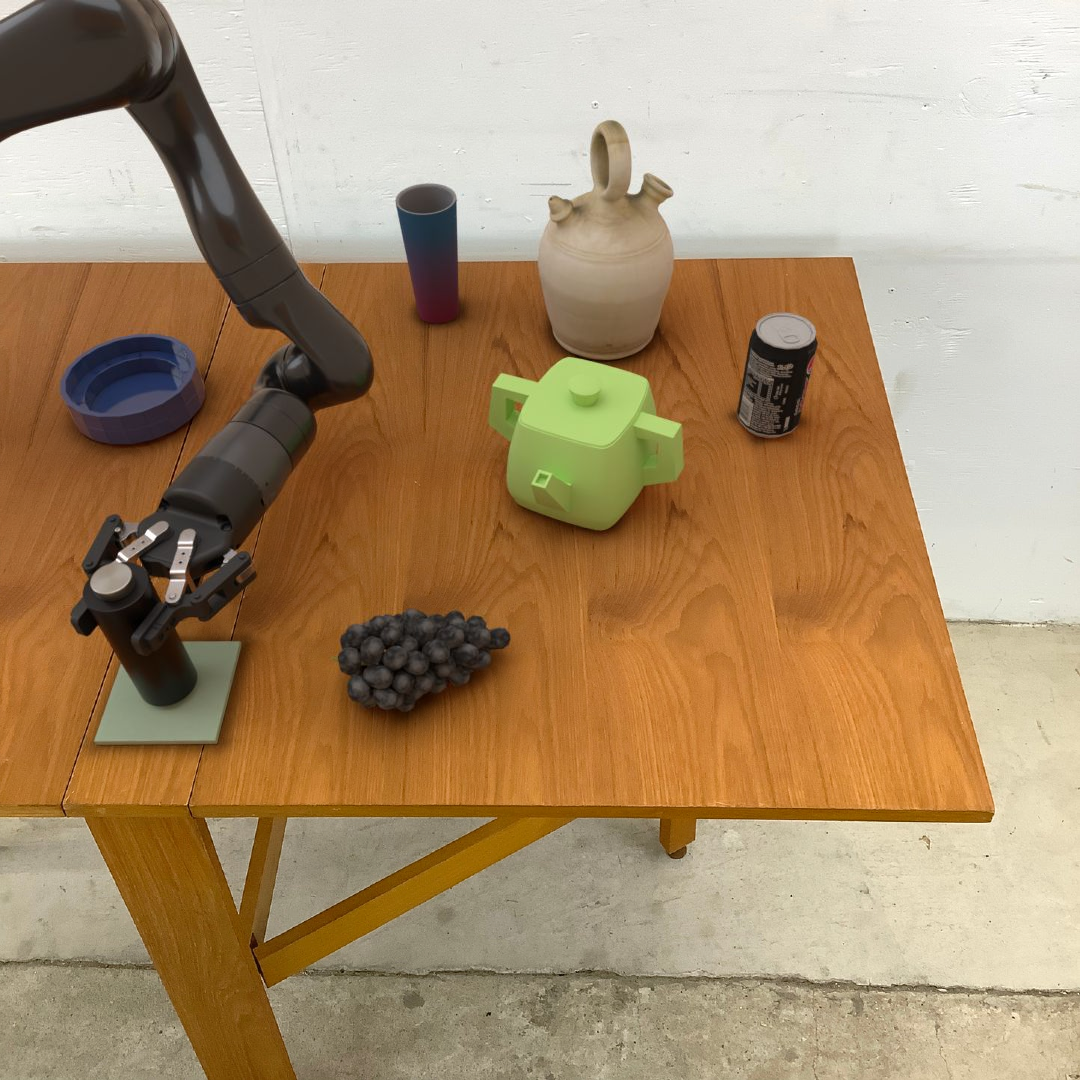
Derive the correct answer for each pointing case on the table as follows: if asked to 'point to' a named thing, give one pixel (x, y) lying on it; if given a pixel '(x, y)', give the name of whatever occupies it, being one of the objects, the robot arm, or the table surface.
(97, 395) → the bowl
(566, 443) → the teapot
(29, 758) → the table surface
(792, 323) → the beverage can
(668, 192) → the jug
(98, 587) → the bottle
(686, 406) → the table surface
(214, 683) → the mat
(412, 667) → the fruit
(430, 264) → the cup
